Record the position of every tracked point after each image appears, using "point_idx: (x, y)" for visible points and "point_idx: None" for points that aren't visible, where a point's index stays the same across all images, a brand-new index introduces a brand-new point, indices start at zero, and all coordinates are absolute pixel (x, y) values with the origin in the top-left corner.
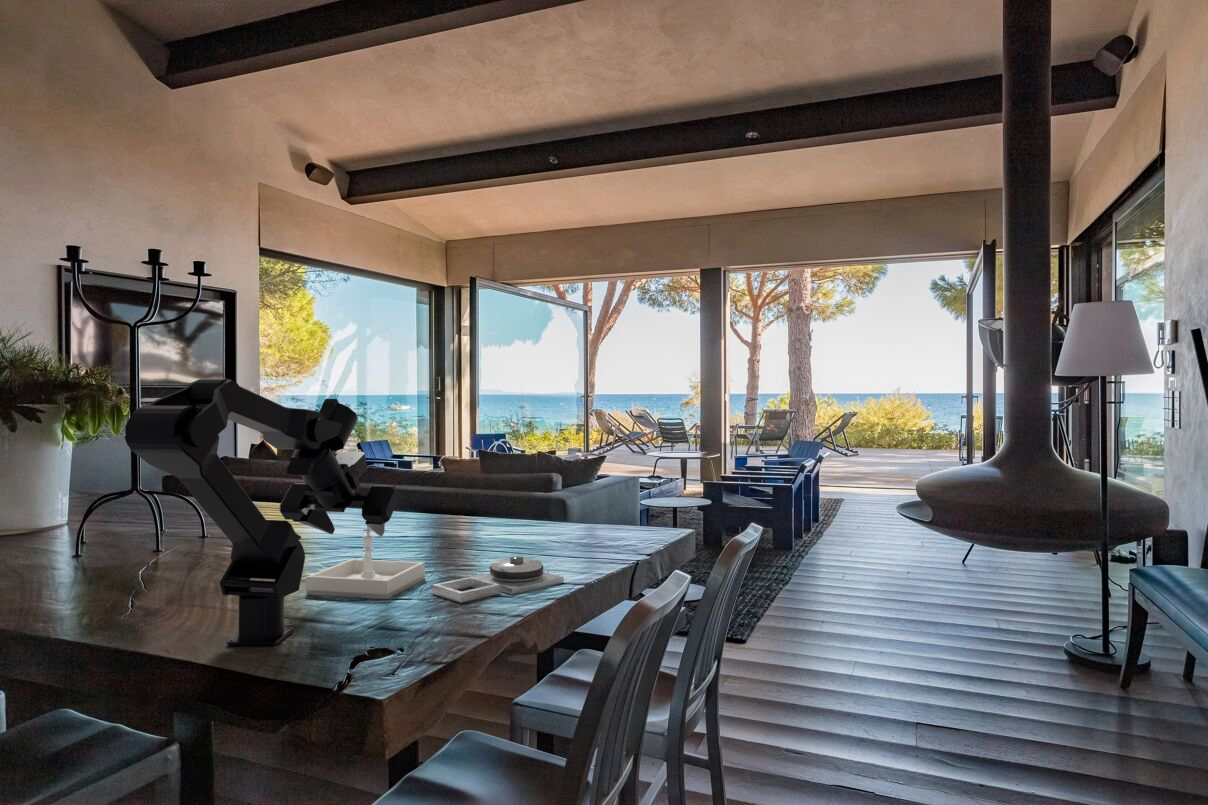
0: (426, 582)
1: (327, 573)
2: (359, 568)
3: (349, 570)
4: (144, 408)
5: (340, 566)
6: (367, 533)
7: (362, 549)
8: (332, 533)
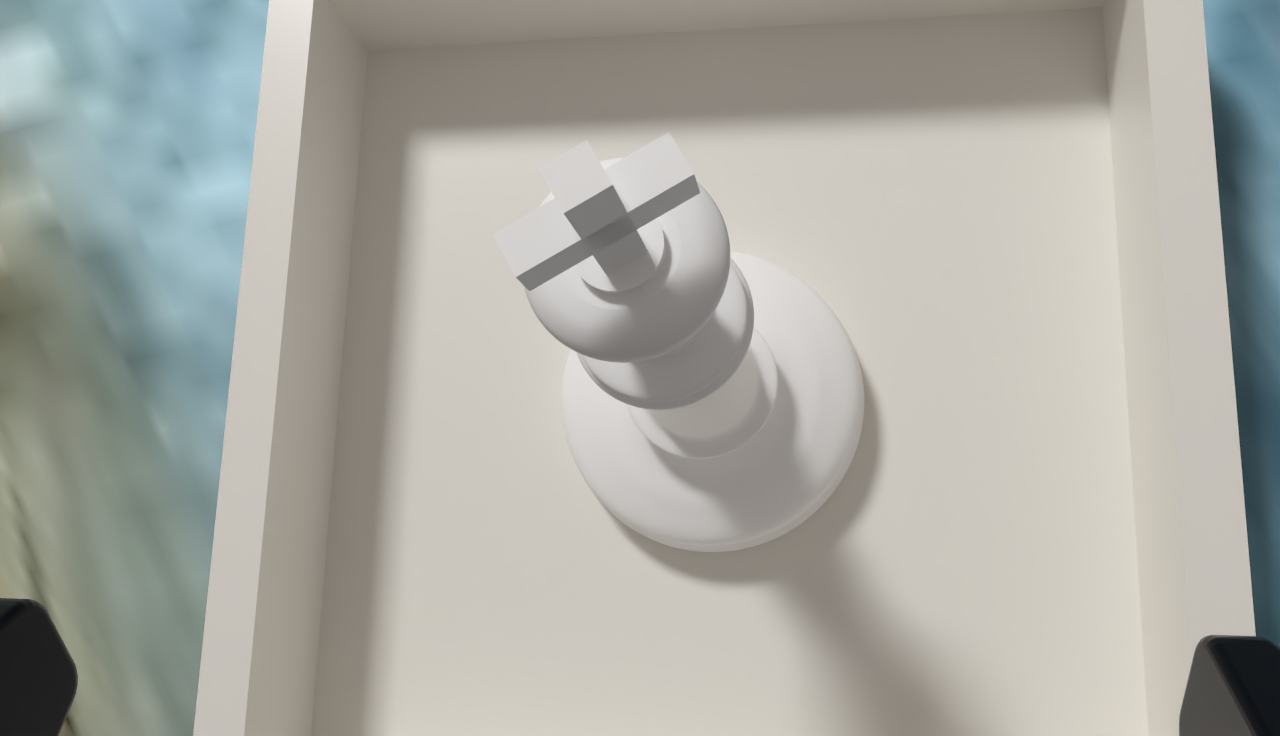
0: (1235, 112)
1: (281, 512)
2: (417, 30)
3: (349, 106)
4: None
5: (297, 250)
6: (608, 260)
7: (597, 377)
8: (71, 695)
